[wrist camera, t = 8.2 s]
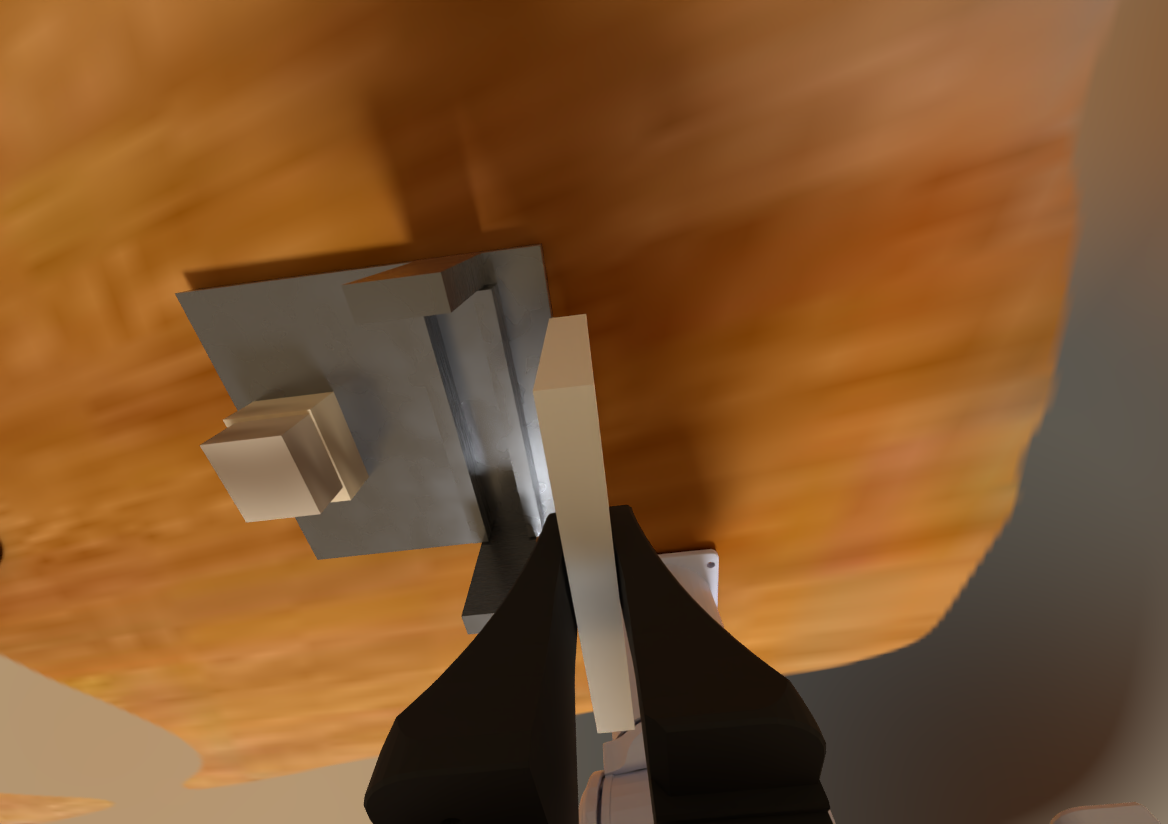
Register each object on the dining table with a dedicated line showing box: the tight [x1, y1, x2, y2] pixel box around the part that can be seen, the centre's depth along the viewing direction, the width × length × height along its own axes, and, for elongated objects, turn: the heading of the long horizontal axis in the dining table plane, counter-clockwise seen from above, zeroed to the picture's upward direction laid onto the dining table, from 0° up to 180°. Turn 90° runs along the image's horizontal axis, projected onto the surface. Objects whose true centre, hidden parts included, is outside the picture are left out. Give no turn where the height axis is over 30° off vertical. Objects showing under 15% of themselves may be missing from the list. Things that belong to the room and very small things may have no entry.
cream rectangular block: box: [533, 314, 635, 733], centre depth 13 cm, size 12×1×6 cm, turn 7°
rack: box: [175, 244, 556, 634], centre depth 19 cm, size 16×16×7 cm
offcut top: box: [200, 414, 343, 522], centre depth 19 cm, size 4×3×2 cm
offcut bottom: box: [223, 392, 369, 502], centre depth 21 cm, size 5×4×2 cm
